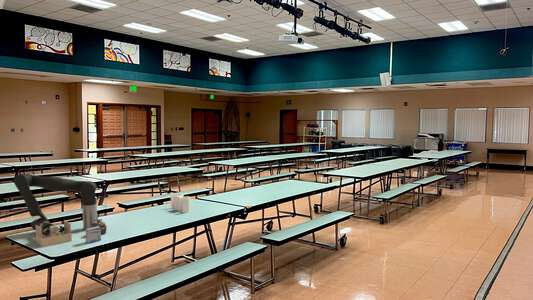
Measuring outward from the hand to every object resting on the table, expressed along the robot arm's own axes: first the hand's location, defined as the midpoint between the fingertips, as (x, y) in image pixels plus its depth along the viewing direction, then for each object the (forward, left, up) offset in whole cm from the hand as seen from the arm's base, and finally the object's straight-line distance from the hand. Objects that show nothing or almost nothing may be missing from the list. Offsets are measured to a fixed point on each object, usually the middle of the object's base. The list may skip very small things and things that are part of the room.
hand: (54, 232), depth 248 cm
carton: (0, -8, -6) cm, 10 cm away
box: (0, -1, -6) cm, 6 cm away
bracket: (-105, -23, -6) cm, 108 cm away
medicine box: (-18, +15, -6) cm, 24 cm away
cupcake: (-27, +1, -6) cm, 28 cm away
